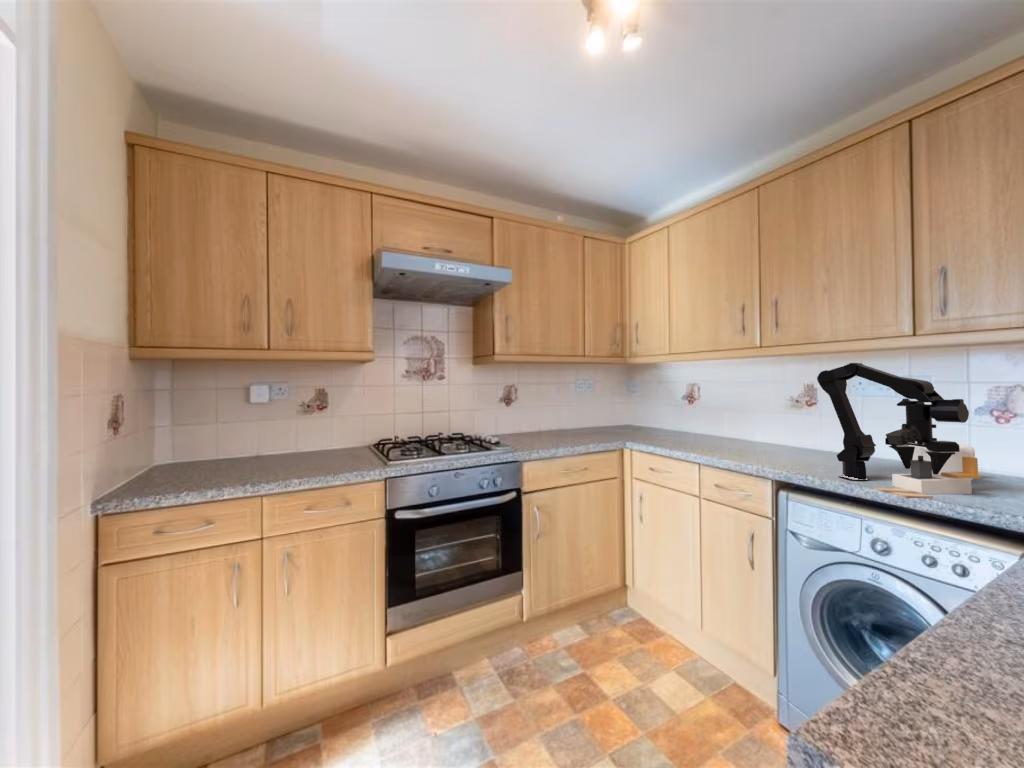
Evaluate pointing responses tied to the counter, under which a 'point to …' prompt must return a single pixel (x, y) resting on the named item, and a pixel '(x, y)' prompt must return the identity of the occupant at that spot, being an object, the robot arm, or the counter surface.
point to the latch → (966, 469)
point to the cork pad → (904, 492)
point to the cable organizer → (952, 463)
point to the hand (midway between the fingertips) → (920, 471)
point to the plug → (921, 469)
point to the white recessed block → (933, 484)
